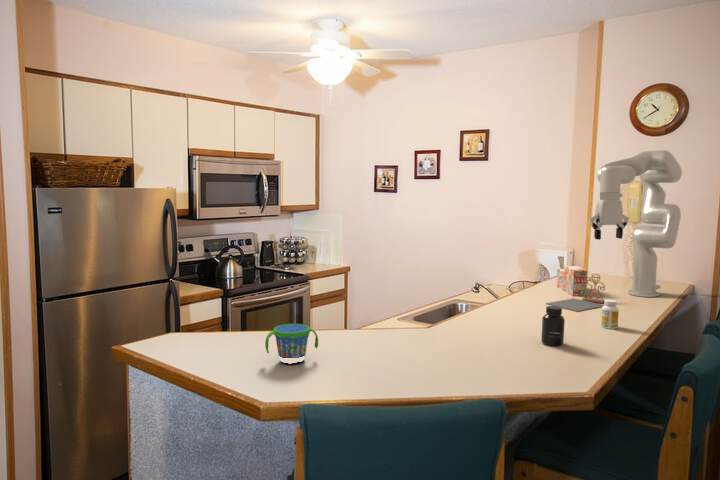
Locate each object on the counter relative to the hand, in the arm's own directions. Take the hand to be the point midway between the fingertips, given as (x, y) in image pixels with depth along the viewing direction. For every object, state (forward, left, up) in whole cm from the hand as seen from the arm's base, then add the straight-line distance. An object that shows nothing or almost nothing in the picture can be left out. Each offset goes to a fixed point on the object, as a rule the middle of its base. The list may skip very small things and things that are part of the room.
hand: (608, 238), depth 220 cm
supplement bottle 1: (+59, +23, -29) cm, 69 cm away
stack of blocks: (-14, -29, -29) cm, 43 cm away
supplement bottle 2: (+26, +20, -29) cm, 44 cm away
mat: (+8, -9, -29) cm, 31 cm away
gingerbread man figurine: (-4, -9, -29) cm, 30 cm away
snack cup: (+138, -4, -29) cm, 141 cm away
